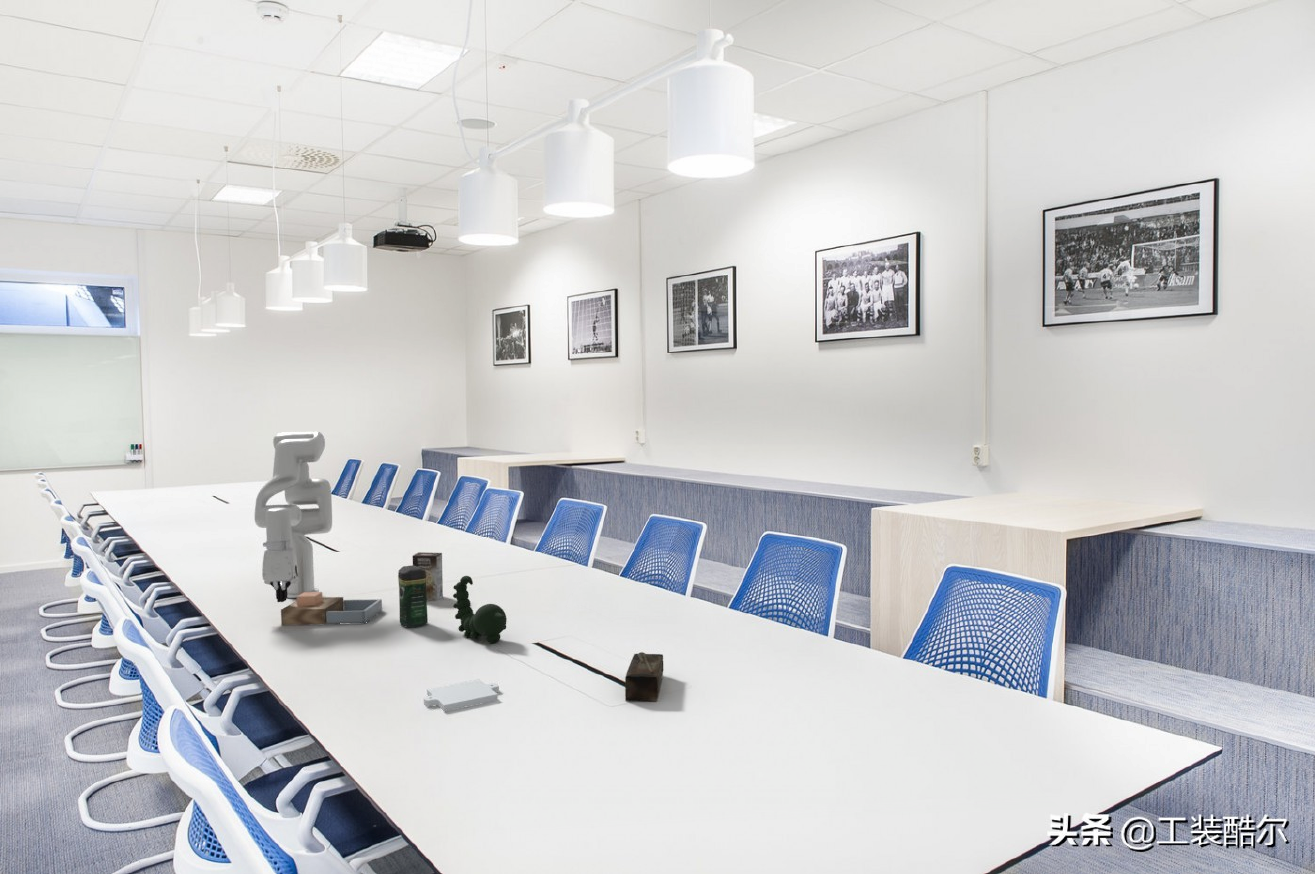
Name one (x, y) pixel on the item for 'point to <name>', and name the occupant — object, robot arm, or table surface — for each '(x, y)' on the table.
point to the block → (309, 598)
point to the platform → (310, 612)
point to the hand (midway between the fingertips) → (282, 601)
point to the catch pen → (355, 611)
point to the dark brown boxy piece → (644, 677)
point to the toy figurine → (478, 615)
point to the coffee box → (431, 573)
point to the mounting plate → (461, 694)
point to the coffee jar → (412, 596)
